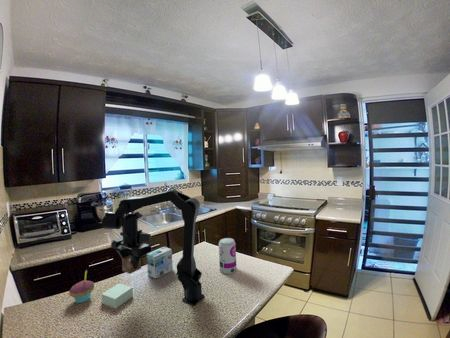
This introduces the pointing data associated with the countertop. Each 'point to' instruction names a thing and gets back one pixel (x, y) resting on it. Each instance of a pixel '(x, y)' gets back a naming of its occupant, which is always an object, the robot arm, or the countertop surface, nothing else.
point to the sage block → (117, 295)
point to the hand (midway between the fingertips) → (131, 267)
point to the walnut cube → (129, 265)
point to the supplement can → (227, 255)
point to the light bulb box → (159, 262)
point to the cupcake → (82, 290)
